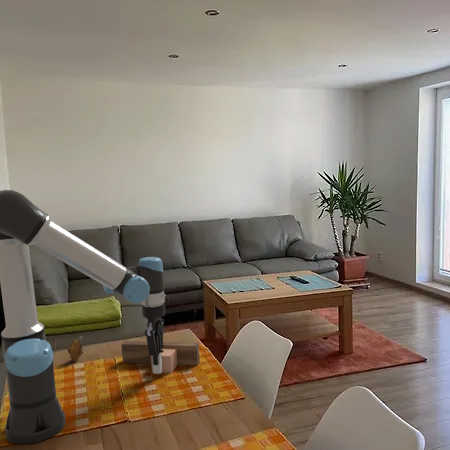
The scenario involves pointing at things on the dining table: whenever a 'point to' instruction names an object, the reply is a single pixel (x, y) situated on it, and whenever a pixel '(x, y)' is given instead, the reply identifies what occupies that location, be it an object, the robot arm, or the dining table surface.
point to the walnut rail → (185, 350)
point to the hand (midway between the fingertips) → (157, 372)
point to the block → (168, 360)
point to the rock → (75, 349)
